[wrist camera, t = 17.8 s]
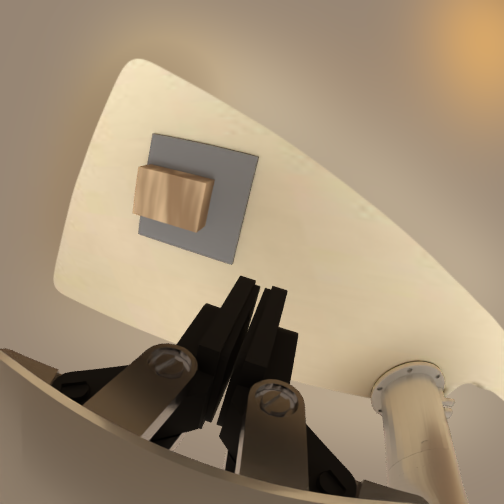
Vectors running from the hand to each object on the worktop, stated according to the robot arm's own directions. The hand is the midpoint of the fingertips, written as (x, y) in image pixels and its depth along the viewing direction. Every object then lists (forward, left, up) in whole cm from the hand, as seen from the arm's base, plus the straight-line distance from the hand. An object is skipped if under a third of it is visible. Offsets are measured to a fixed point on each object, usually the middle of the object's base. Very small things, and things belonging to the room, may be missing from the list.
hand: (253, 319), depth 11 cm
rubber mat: (+13, +5, -27) cm, 30 cm away
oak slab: (+10, +5, -25) cm, 28 cm away
